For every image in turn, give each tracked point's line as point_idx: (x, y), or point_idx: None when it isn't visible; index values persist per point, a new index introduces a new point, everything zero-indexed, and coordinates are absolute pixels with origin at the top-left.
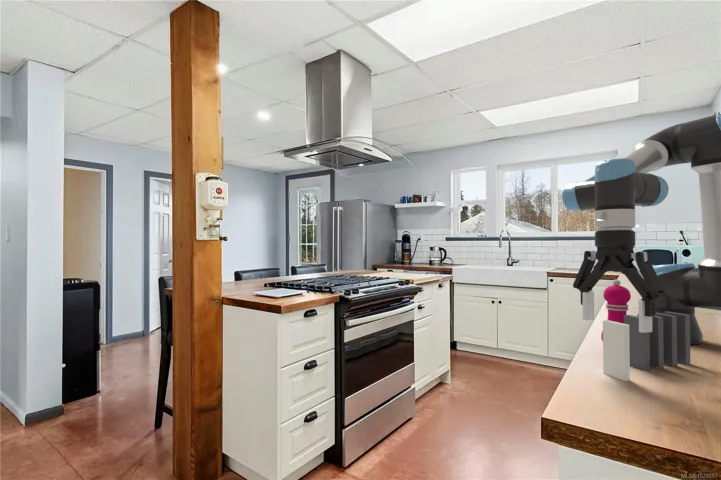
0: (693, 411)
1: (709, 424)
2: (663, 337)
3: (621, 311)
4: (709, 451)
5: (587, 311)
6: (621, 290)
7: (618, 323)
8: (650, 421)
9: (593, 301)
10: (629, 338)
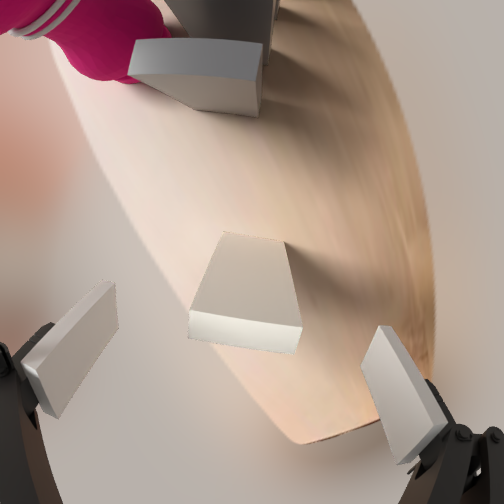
0: (413, 304)
1: (431, 329)
2: None
3: (77, 4)
4: None
5: (100, 340)
6: None
7: (260, 338)
8: None
9: (67, 336)
10: (192, 97)
